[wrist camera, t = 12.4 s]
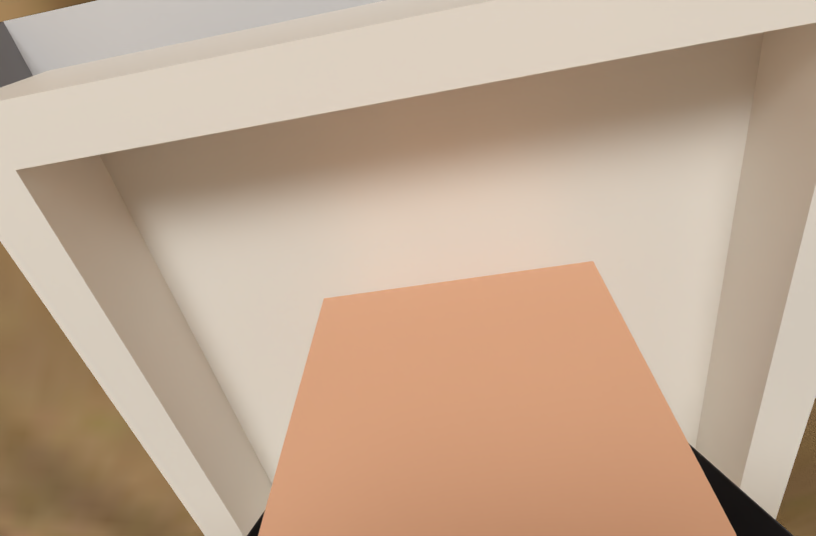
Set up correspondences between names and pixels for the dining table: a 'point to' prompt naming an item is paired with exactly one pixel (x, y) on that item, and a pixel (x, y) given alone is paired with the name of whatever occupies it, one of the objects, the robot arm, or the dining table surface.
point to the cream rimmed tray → (425, 208)
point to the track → (135, 28)
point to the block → (485, 419)
